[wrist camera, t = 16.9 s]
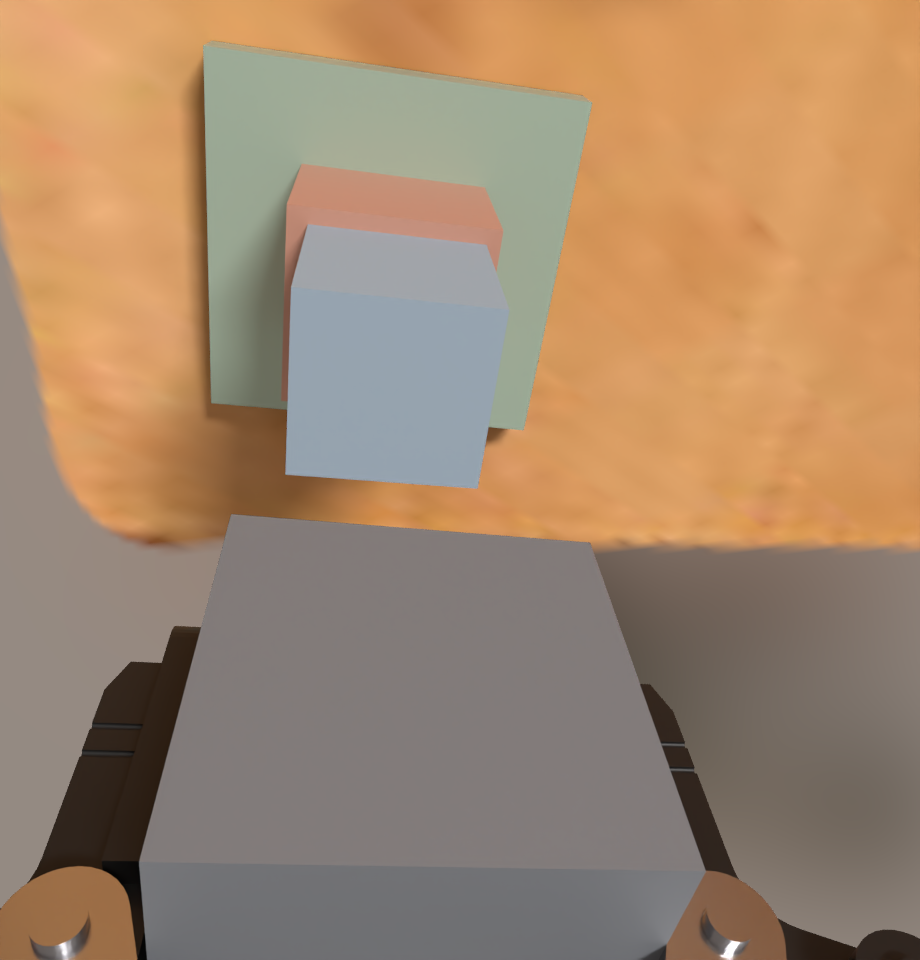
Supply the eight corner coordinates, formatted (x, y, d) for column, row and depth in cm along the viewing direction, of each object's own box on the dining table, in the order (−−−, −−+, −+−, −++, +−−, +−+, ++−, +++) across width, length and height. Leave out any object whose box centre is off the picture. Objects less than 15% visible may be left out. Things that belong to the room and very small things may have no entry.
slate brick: (589, 542, 12) (706, 870, 8) (521, 770, 14) (580, 1106, 10) (231, 514, 11) (138, 861, 7) (227, 759, 14) (160, 1119, 9)
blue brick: (486, 244, 23) (509, 310, 19) (461, 401, 26) (477, 488, 22) (307, 224, 23) (290, 287, 18) (301, 387, 25) (285, 474, 21)
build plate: (582, 95, 27) (592, 102, 26) (518, 412, 34) (523, 430, 32) (212, 40, 26) (203, 45, 24) (217, 385, 32) (211, 402, 31)
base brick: (484, 187, 27) (503, 230, 23) (459, 353, 30) (471, 417, 26) (301, 163, 26) (286, 204, 22) (295, 336, 30) (281, 400, 25)
